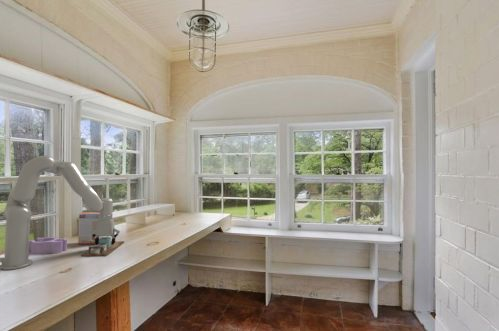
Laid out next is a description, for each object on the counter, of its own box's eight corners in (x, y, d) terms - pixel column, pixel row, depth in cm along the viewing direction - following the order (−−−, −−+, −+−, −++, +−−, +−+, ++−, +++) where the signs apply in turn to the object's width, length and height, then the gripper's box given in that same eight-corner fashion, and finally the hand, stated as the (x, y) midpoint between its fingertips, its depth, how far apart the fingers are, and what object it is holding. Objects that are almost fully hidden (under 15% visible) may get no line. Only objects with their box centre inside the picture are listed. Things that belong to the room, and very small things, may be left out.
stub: (98, 248, 165) (99, 238, 165) (102, 246, 170) (102, 236, 170) (107, 248, 166) (107, 238, 166) (110, 246, 171) (110, 236, 171)
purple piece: (71, 248, 167) (71, 237, 167) (56, 255, 155) (56, 243, 155) (41, 247, 168) (41, 236, 168) (23, 253, 156) (24, 242, 156)
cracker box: (103, 242, 182) (104, 212, 183) (98, 244, 176) (99, 213, 177) (83, 241, 182) (84, 211, 183) (77, 244, 176) (79, 213, 176)
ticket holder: (81, 256, 153) (81, 247, 153) (102, 242, 181) (103, 235, 181) (106, 256, 155) (106, 247, 155) (124, 242, 183) (124, 235, 183)
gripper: (88, 218, 163) (87, 246, 163) (117, 218, 165) (117, 245, 165) (94, 216, 171) (93, 242, 171) (122, 216, 173) (121, 242, 173)
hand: (105, 244), depth 168 cm, fingers open, 9 cm apart
